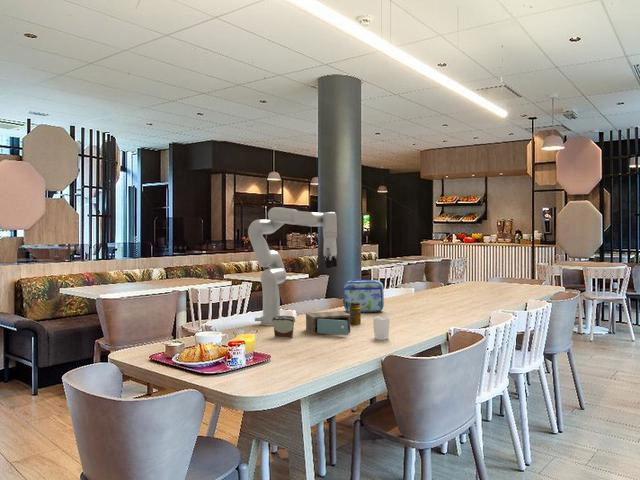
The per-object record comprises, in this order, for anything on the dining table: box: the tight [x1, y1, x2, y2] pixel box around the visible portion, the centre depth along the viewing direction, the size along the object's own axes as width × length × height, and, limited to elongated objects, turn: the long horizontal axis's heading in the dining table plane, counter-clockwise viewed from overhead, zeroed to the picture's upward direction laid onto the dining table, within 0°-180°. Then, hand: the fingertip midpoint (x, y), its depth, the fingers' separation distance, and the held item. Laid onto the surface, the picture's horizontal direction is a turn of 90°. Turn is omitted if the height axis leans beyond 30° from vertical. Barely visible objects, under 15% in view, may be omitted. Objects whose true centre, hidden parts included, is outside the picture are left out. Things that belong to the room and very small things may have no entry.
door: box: [317, 319, 349, 336], centre depth 261 cm, size 16×2×7 cm, turn 67°
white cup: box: [372, 316, 390, 341], centre depth 254 cm, size 8×8×10 cm
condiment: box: [349, 302, 363, 327], centre depth 293 cm, size 7×8×12 cm
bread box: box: [305, 310, 351, 336], centre depth 274 cm, size 20×14×9 cm
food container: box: [272, 315, 296, 339], centre depth 262 cm, size 12×6×10 cm, turn 71°
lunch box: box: [342, 278, 385, 313], centre depth 337 cm, size 26×11×21 cm, turn 77°
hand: (331, 267), depth 279 cm, fingers open, 9 cm apart
